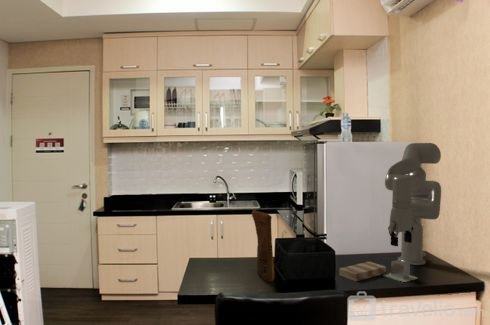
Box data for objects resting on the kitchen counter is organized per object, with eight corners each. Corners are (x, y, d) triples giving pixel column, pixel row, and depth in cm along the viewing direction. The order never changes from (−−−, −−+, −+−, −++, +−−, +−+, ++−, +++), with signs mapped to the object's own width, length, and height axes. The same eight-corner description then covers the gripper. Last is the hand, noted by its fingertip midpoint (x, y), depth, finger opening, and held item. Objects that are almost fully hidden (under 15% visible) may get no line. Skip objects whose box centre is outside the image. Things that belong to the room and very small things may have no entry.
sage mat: (396, 272, 161) (396, 271, 161) (417, 278, 152) (417, 277, 152) (382, 275, 155) (382, 274, 155) (403, 282, 147) (403, 281, 147)
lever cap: (397, 273, 158) (397, 260, 158) (409, 277, 153) (410, 263, 153) (390, 275, 155) (391, 261, 155) (403, 279, 150) (403, 265, 150)
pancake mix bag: (262, 284, 144) (263, 215, 143) (250, 269, 162) (250, 208, 162) (278, 282, 145) (279, 214, 145) (264, 268, 164) (265, 208, 163)
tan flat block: (368, 267, 166) (368, 261, 166) (385, 273, 159) (385, 266, 159) (339, 275, 156) (339, 268, 156) (355, 281, 148) (355, 274, 148)
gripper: (405, 202, 161) (405, 239, 162) (381, 205, 152) (381, 245, 153) (421, 204, 155) (420, 242, 156) (397, 208, 146) (396, 249, 146)
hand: (401, 243), depth 154 cm, fingers open, 9 cm apart
